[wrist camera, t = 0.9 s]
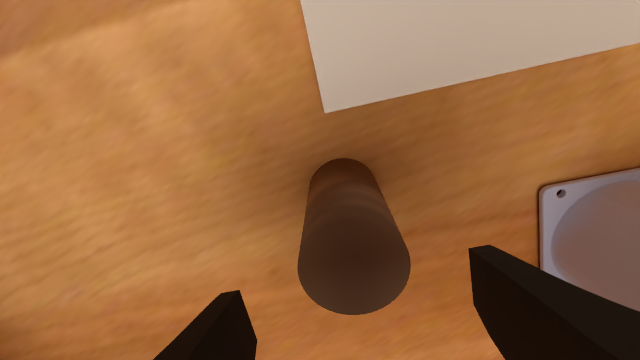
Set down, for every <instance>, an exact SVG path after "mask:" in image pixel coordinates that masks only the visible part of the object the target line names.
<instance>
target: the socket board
mask: <svg viewBox="0 0 640 360" xmlns="http://www.w3.org/2000/svg"><path fill="white" fill-rule="evenodd" d="M300 1H301V6H302V10H303V15H304V20H305V24H306V29H307V34H308V38H309V43H310V47H311V52H312V57H313V61H314V66H315V71H316V75H317V80H318V85H319V89H320V94H321V99H322V103H323V108H324V112H325V113H329V112H333V111H338V110H342V109H347V108H351V107H355V106H360V105H364V104H369V103H373V102H378V101H382V100H387V99H391V98H396V97H400V96H405V95H409V94H413V93H418V92H422V91H427V90H431V89H436V88H440V87H445V86H449V85H454V84H458V83H463V82H467V81H472V80H476V79H480V78H485V77H489V76H494V75H498V74H503V73H507V72H512V71H516V70H521V69H525V68H530V67H534V66H538V65H543V64H547V63H552V62H556V61H561V60H565V59H570V58H574V57H579V56H583V55H588V54H592V53H596V52H601V51H605V50H610V49H614V48H619V47H623V46H628V45H632V44H637V43H640V0H300Z"/></svg>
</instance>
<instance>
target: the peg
mask: <svg viewBox="0 0 640 360" xmlns="http://www.w3.org/2000/svg"><path fill="white" fill-rule="evenodd" d="M410 266H411V265H410V256H409V252H408V250H407V247H406V245H405V243H404V241H403V239H402V236H401V234H400V232H399V230H398V228H397V225H396V223H395V221H394V219H393V217H392V215H391V212H390V210H389V208H388V206H387V204H386V202H385V199H384V197H383V195H382V193H381V191H380V189H379V186H378V184H377V182H376V180H375V178H374V176H373V174H372V172H371V171H370V170H369V169H368V168H367V167H366V166H365V165H363V164H362V163H360V162H358V161H355V160H352V159H346V158H344V159H335V160H332V161H329V162H327V163H325V164H324V165H322V166H321V167H320V168H319V169H318V170H317V171H316V172H315V174H314V175H313V177H312V180H311V183H310V187H309V194H308V200H307V207H306V213H305V219H304V226H303V232H302V239H301V245H300V252H299V258H298V275H299V279H300V282H301V285H302V287H303V289H304V290H305V292H306V293H307V294H308V296H309V297H310V298H311V299H312V300H313V301H315V302H316V303H317V304H318V305H320V306H322V307H323V308H325V309H327V310H330V311H333V312H336V313H340V314H346V315H360V314H366V313H371V312H374V311H377V310H379V309H381V308H383V307H385V306H386V305H388V304H390V303H391V302H392V301H393V300H395V299H396V298H397V296H398V295H399V294H400V293H401V292H402V290H403V289H404V287H405V285H406V283H407V281H408V278H409V274H410Z"/></svg>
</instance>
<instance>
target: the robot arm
mask: <svg viewBox="0 0 640 360" xmlns="http://www.w3.org/2000/svg"><path fill="white" fill-rule="evenodd" d="M559 190H561V193H560V194H559V195H556V194H557V192H558V191H559ZM539 222H540V269H539V268H537V267H535V266H533V265H530V264H528V263H526V262H524V261H522V260H520V259H518V258H516V257H514V256H512V255H510V254H508V253H506V252H504V251H502V250H500V249H498V248H496V247H494V246H491V245H485V246H479V247H474V248H469V259H470V270H471V281H472V292H473V302H474V306H475V308H476V310H477V312H478V314H479V316H480V318H481V320H482V322H483V324H484V326H485V328H486V330H487V332H488V334H489V335H490V337H491V339H492V340H493V342H494V343H495V345H496V346H497V348H498V349H499V351H500V352H501V354H502V355H503V357H504V358H505V360H640V168H635V169H630V170H625V171H619V172H614V173H609V174H604V175H599V176H593V177H588V178H583V179H578V180H573V181H568V182H562V183H557V184H552V185H547V186H545V187H543V188H542V189H541V191H540V193H539ZM256 346H257V338H256V336H255V333H254V330H253V327H252V324H251V321H250V319H249V316H248V313H247V310H246V307H245V305H244V302H243V299H242V296H241V293H240V290H236V291H231V292H225V293H221V294H220V295H219V296H218V297H216V298H215V299H214V300H213V301H212V302H211V303H210V304H209V305H208V306H207V307H206V308H205V309H204V310H203V311H202V312H201V313H200V314H199V315H198V316H197V317H196V318H195V319H194V320H193V321H192V322H191V323H190V324H189V325H188V326H187V327H186V328H185V329H184V330H183V331H182V332H181V333H180V334H179V335H178V336H177V337H176V338H175V339H174V340H173V341H172V342H171V343H170V344H169V345H168V346H167V347H166V348H165V349H164V350H163V351H162V352H160V353H159V354H158V355H157V356H156V357H155V358H154V359H153V360H255V355H256Z"/></svg>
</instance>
